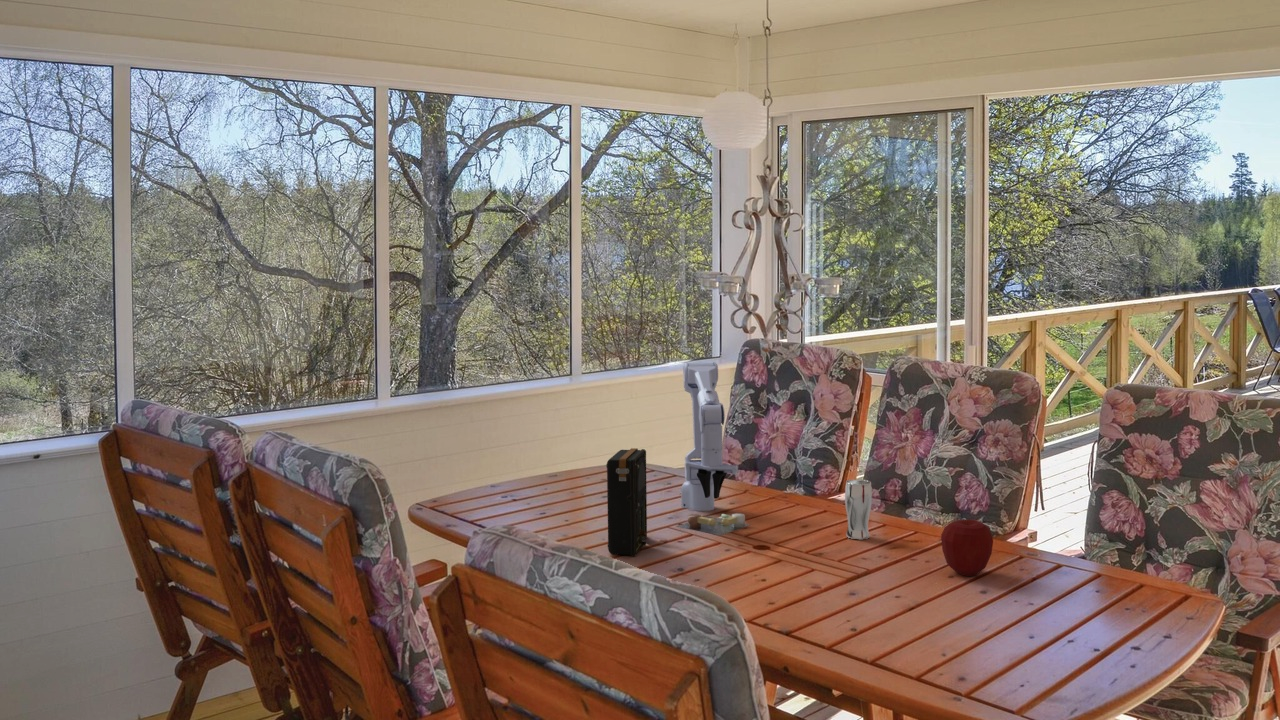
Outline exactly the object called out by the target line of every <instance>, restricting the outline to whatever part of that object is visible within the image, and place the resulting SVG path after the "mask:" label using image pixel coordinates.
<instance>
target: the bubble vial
mask: <svg viewBox="0 0 1280 720" xmlns="http://www.w3.org/2000/svg"><path fill="white" fill-rule="evenodd" d="M729 517H732V514H731V515H730V514H725V513H721V515H720V516H719V517H717V518H718V522H721V521H722V520H723V519H724V518H729Z"/></svg>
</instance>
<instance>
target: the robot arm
mask: <svg viewBox="0 0 1280 720" xmlns="http://www.w3.org/2000/svg"><path fill="white" fill-rule="evenodd" d="M682 371H683V372H682V374H683V375H682V376H683V389H684V391H685V392H687V393H688V394H690V398H691V406H692V429H693V430H692V431H693V432H692V433H693V436H692V437H693V448H692V449H691V450H690V451H689V452H688V453H686V455H685V456H684V480H685V481H684V482H683V483H682V485H681V490H680V491H681V494H680V495H681V496H680V499H681V508H684V509H688V510H692V511H696V512H698V511H699V512H708V511H713V510H715V499H719V498H720V494H721V493H720V492H721V489H722V486H723V484H724V481H725V479H726V477H727V475H728V474H733V475H737V474H738V473H739V465H735V464H734V465H733V464H730V463H729V464H727V463H723V426H724V424H725V419H726V418H725V416H726V415H725V408H724V405H723V403H722V402H720V399H719V395H718V392H717V391H716V388H717V383H718V380H719V366H718V363H717V362H715V361H713V362H685V363H684V364H683V366H682Z"/></svg>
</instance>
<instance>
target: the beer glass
mask: <svg viewBox="0 0 1280 720" xmlns="http://www.w3.org/2000/svg"><path fill="white" fill-rule="evenodd" d="M844 488H845V489H844V505H845V510H846V518H847V530H846V536H847V537H848V538H847V537H846V538H847V539H849V538H851V539H850V540H852V539H859V540H858V541H864V540H863V539H866V540H869V539H870V533H869V518H870V515H871V509H872V501H873V493H872V482H871V481H870V480H868V479H860V478H859V479H857V478H855V479H854V478H853V479H848V480H846V481H845V487H844ZM868 538H869V539H868Z"/></svg>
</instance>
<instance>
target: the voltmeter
mask: <svg viewBox="0 0 1280 720" xmlns="http://www.w3.org/2000/svg"><path fill="white" fill-rule="evenodd" d="M606 478H607V479H606V482H607V483H606V486H607V487H606V489H607V490H606V491H607V493H606V494H607V495H606V496H607V549H608V553H609V554H610V555H618V556H619V555H621V556H623V555H624V556H631V557H636V556H637V555H638V554H639V552H640V551H641V550H642V548H643V547H644V545H645V544H646V541H644V540H645V539H647V537H648V522H647V521H648V516H647V515H648V511H647V508H648V507H647V504H648V503H647V500H648V499H647V497H648V496H647V495H648V494H647V451H646V449H638V448H635V447H634V448H633V447H631V448H629V449H620V450H619V451H617V452H616V453H615V454H614V455H612V456H611V457H610V458H609V459H608V460H607V463H606Z"/></svg>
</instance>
